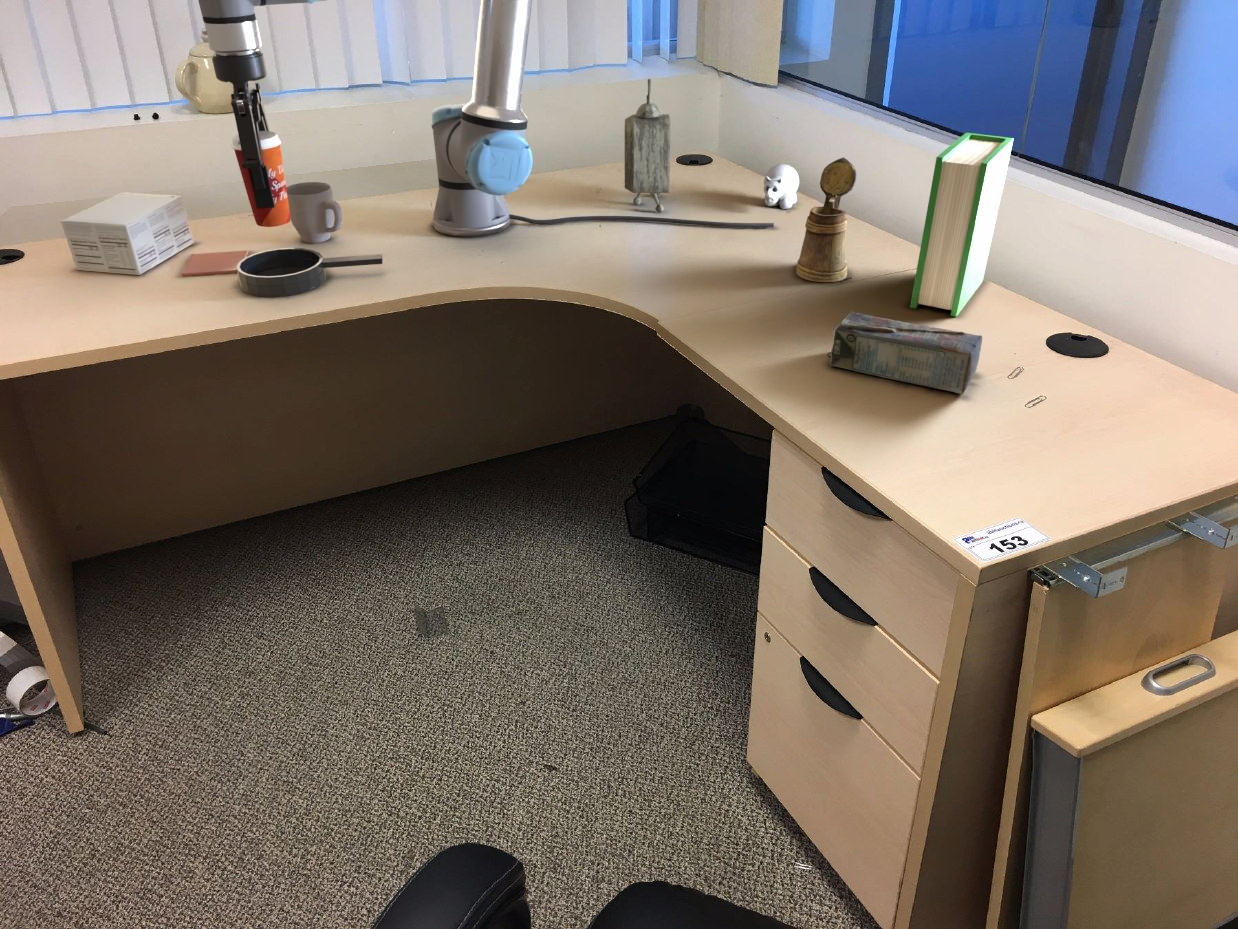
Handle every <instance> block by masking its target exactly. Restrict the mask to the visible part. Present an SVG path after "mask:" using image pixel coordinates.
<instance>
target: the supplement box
mask: <svg viewBox="0 0 1238 929" xmlns="http://www.w3.org/2000/svg"><path fill="white" fill-rule="evenodd" d="M189 222H190V221H189V218H188V215H187V210H186V207H185V203H184V200H183V196H181V195H174V194H159V193H158V194H156V193H141V192H140V193H139V192H127V191H124V192H122V191H121V192H119V193H116V194H115V195H112V196H110V197H108V198H106V199H104V200H102V201H100V202H98V203H95V204H94V205H91V206H90V207H87V208H85V209H83V210H81V211H79V212H77V213H74V214H72V215H70V216H68V217H66V218H63V219H61V220H60V224H61V227H62V230H63V232H64V235H65V238H66V241H67V245H68V248H69V250H70V253H71V256H72V259H73V262H74V264H75V268H76V270H77V271H85V272H86V271H87V272H98V273H108V274H110V273H111V274H120V275H121V274H123V275H133V276H141V275H143V274H144V273H146V272H148V271H149V270H151V269H152V268H154V267H156V266H157V265H159V264H161V263H163V262H165V261H166V260H168V259H169V258H171V257H173V256H174V255H176V254H178V253H179V252H181V251H183V250H184V249H186V248H188V247H189V246H191V245H193V244H194V243H195V240H194V236H193V233H192V229H191V226H190V223H189Z"/></svg>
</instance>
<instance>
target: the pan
mask: <svg viewBox="0 0 1238 929" xmlns="http://www.w3.org/2000/svg"><path fill="white" fill-rule="evenodd" d="M323 258H324V256H323V255H322V254H321V252H318V251H316V250H313V249H308V248H303V247H302V248H301V247H283V248H282V247H281V248H275V249H274V248H273V249H268V250H267V249H266V250H263V251H259V252H256V253H253V254H251V255H247V257H246V258H244V259H242V260H241V261H240V262H238V264H237V266H236V270H237V278H238V282H239V287H240V289H241V290H242V291H243V292H244V293H245V294H247V295H251V296H254V297H261V298H282V297H290V296H296V295H301V294H304V293H307V292H310V291H312V290H315V289H316V288H319V287H320V286H322V285H323V284H324V283H325V282H326V280H327V271H326V268H323Z"/></svg>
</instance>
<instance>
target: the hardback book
mask: <svg viewBox="0 0 1238 929" xmlns="http://www.w3.org/2000/svg"><path fill="white" fill-rule="evenodd" d="M1014 140H1015V139H1014V137H1007V136H999V135H998V136H997V135H989V134H982V133H981V134H980V133H973V132H965V133H964V134H962V135H961V136H960V137H959V138H958V139H957V140H955V141H954V142H953V143H952V144H950V146H948V147H947V148H946V149H944V150H943V151H942V152H941V153H939V154H938V155H937V156H936V158H935V164H934V170H933V175H932V181H931V187H930V192H929V196H928V197H929V198H928V203H927V210H926V214H925V220H924V226H923V231H922V237H921V243H920V248H919V255H918V260H917V265H916V272H915V277H914V283H913V287H912V288H913V289H912V293H911V300H910V304H909V308H911V309H917V308H918V307H919V306H920V305H923V306H928V307H934V308H938V309H943V310H948V311H951V312H950V314H949V316H950V317H954V318H957V317H958V315H959V314H960V313H961V311H962V310H963V309H964V307H965V306H966V304H967V303H968V302H969V301H970V299H971V298H972V296H973V295H974V294H975V293H976V291H977V290H978V289H979V287H980V286H981V285H982V283H983V281H984V278H985V277H984V276H985V273H986V267H987V263H988V259H989V253H990V249H991V245H992V240H993V236H994V230H995V225H996V222H997V217H998V212H999V207H1000V203H1001V199H1002V194H1003V190H1004V185H1005V181H1006V176H1007V171H1008V166H1009V161H1010V158H1011V152H1012V149H1013V143H1014Z"/></svg>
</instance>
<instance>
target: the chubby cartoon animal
mask: <svg viewBox="0 0 1238 929" xmlns="http://www.w3.org/2000/svg"><path fill="white" fill-rule="evenodd" d="M799 185H800V177H799V174H798V172H797V170H796V169H795V168H794V167H792V166H791V165H789V164H785V163H780V164H776V165H774V166H771V168H770V169H769V170H767V172H766V174H765V176H764V179H763V193H764V205H765V206H767V207H775V206H777V204H779V208H780V209H783V210H787V209H792V207H793V205H795V204H797V202H798V199H797V198H798V197H797V193H796V192H797V191H798V189H799Z"/></svg>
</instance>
